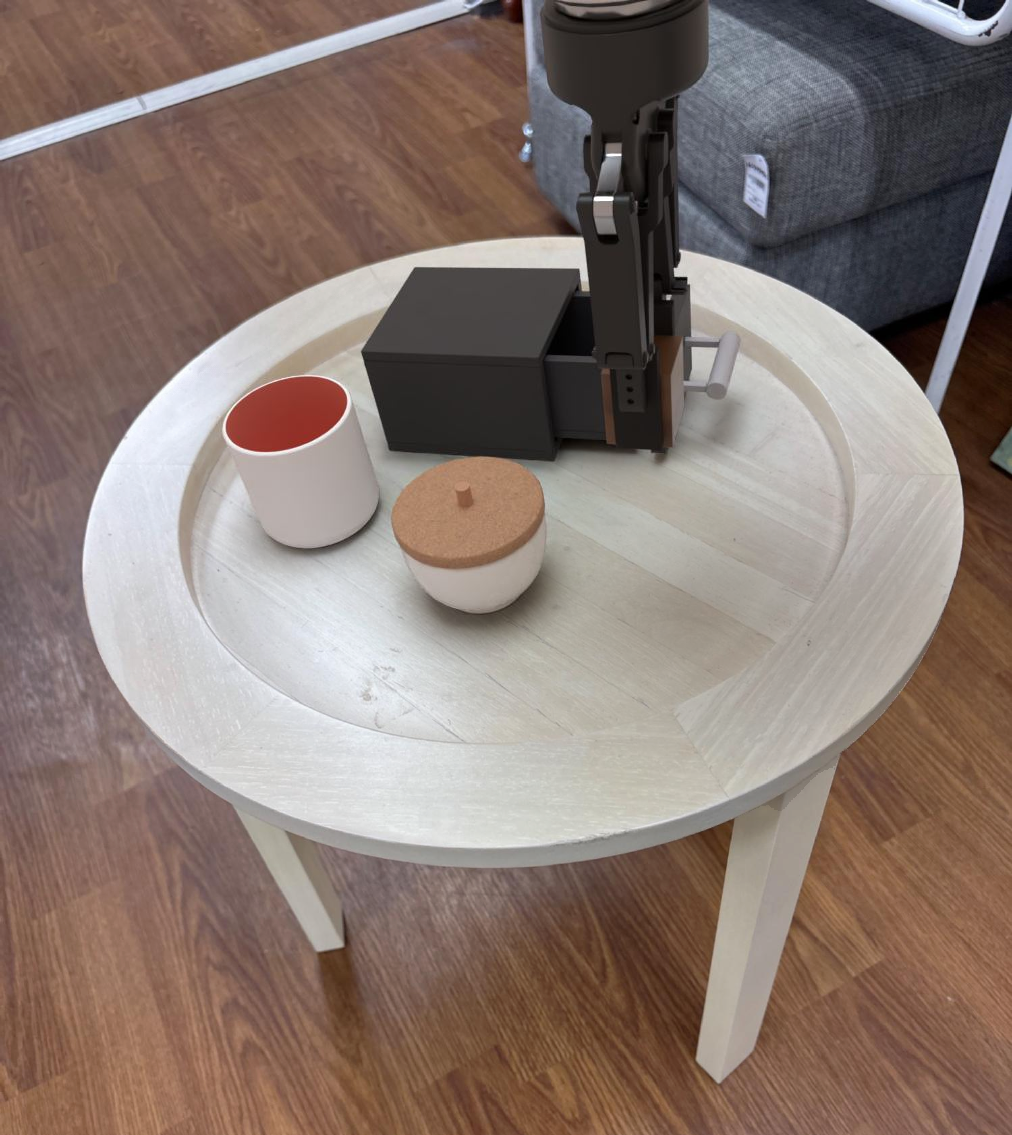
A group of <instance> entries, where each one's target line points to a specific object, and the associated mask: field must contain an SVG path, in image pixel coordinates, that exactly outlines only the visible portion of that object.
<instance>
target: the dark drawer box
mask: <svg viewBox="0 0 1012 1135" xmlns="http://www.w3.org/2000/svg"><path fill="white" fill-rule="evenodd" d="M582 286H583V285H582V279H581V270H580V268H578V267H577V268H575V267H572V268H570V267H569V268H567V267H565V268H563V267H561V268H560V267H559V268H558V267H466V266H465V267H458V266H457V267H454V266H453V267H452V266H450V267H449V266H448V267H447V266H414V267H413V269H412V271H411V272H410V273H409V275H408V276H407V278H406V280H405V281H404V282H403V284H402V286H401V288H400V289H399V290H398V292H397V294H396V295H395V297H394V298H393V300H392V302H391V303H390V304H389V306H388V308H387V309H386V310H385V312H384V314H383V315H382V317H381V319H380V320H379V322H378V323H377V325H376V326H375V328H374V330H373V331H372V333H371V334H370V336H369V338H368V339H367V341H366V342H365V344H364V345H363V347H362V349H361V350H360V353H361V357H362V360H363V364H364V367H365V371H366V374H367V378H368V381H369V385H370V390H371V392H372V396H373V400H374V403H375V406H376V409H377V413H378V416H379V420H380V423H381V427H382V431H383V433H384V437H385V440H386V444H387V447H388V450H389V451H398V452H411V453H428V454H443V455H457V456H471V457H495V458H502V459H519V460H520V459H521V460H535V461H536V460H537V461H551V462H554V461H555V458H556V456H557V453H558V451H559V448H560V446H561V443H562V441H563V438H560V437H554V435H553V428H552V421H551V414H550V407H549V400H548V394H547V387H546V380H545V373H544V366H543V359H544V357H545V354H546V352H547V350H548V348H549V346H550V344H551V341H552V339H553V337H554V335H555V333H556V330H557V328H558V326H559V324H560V322H561V319H562V317H563V315H564V313H565V311H566V309H567V306H568V304H569V302H570V300H571V298H572V295H573V293H574V291H583V288H582Z"/></svg>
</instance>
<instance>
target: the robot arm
mask: <svg viewBox="0 0 1012 1135" xmlns="http://www.w3.org/2000/svg"><path fill="white" fill-rule="evenodd" d="M709 12H710V11H709V0H545V1H544V3H543V5H542V7H541V9H540V12H539V19H540V25H541V26H540V29H541V36H542V46H543V55H544V62H545V63H544V65H545V73H546V82H547V85H548V88H549V90H550V91H551V93H552V94H553V95H554V96H555V97H556V98H557V99H558V100H560V101H561V102H562V103H565V104H567V105H569V106H575V107H577V108H579V109H581V110H583V111H584V112H585V113H586V114H588V115H589V116H590V119H591V125H590V133H589V134H585V135H584V138H583V143H582V144H583V145H582V146H583V147H582V155H583V156H582V158H583V169H584V173H585V174H586V175H587V177H588V180H589V183H588V184H589V191H588V192H579V194H578V196H577V201H576V203H575V211H576V213H577V218H578V219H577V220H578V224H579V227H580V230H581V231H580V232H581V235H582V240H583V244H584V253H585V262H586V263H585V264H586V271H587V272H586V273H587V281H588V291H590V300H591V309H592V319H593V328H594V337H595V347H594V349H593V351H592V358H593V359H596V361H597V366H598V368H599V369H609V371H610V383H611V394H612V406H613V418H614V429H615V441H616V444H615V449H624V450H641V451H642V450H645V451H651V450H660V451H661V449H662V446H663V428H662V405H661V383H660V354H659V347H656V346H655V345H654V335H668V336H675V313H674V300H670V299H667V296H671V295H686V292H687V284H689V283H688V276H675V269H678V268H679V264H680V262H681V260H682V252H681V251H680V212H679V211H680V210H679V209H680V207H679V206H680V204H679V158H678V157H679V153H678V152H679V151H678V130H679V122H678V120H679V119H678V117H679V116H678V115H679V99H680V97H681V94H682V93H684V92H686V91H687V90H689V89H690V88H692V87H693V86H695V84H697V83H698V81H699V80H700V79H701V78H702V77H703V76H704V74H705V72H706V70H707V68H708V64H709V61H710V60H709V57H710V55H709V54H710V46H709V45H710V42H709V40H710V39H709V38H710V37H709V36H710V35H709V29H710V28H709V27H710V26H709Z"/></svg>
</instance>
